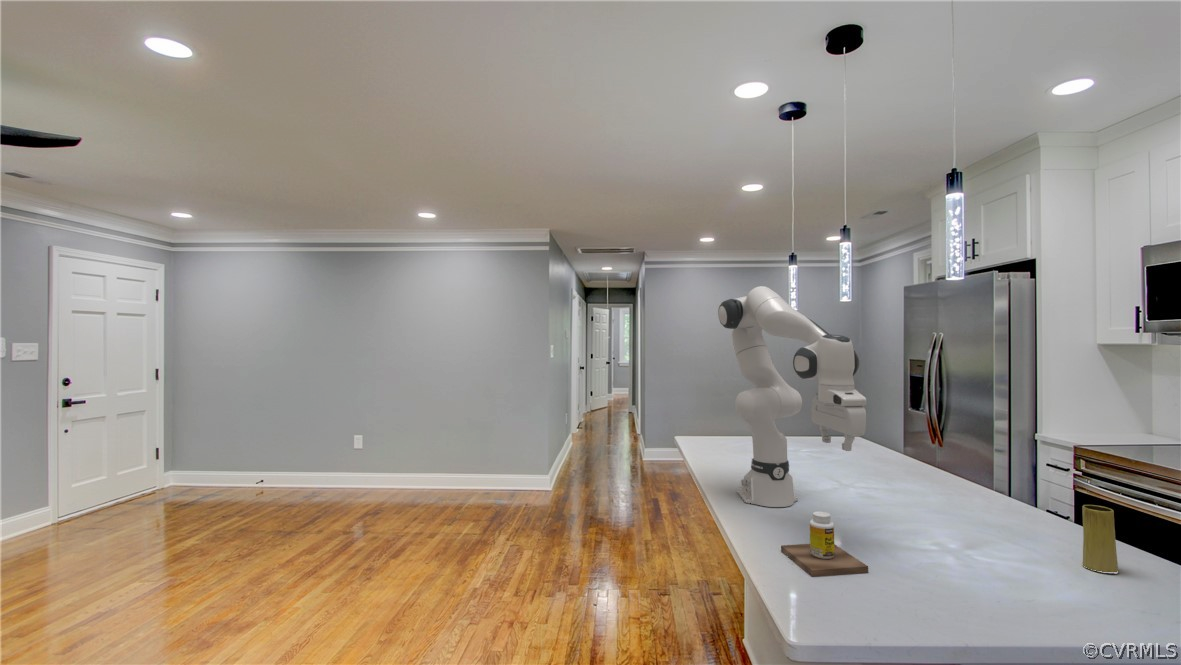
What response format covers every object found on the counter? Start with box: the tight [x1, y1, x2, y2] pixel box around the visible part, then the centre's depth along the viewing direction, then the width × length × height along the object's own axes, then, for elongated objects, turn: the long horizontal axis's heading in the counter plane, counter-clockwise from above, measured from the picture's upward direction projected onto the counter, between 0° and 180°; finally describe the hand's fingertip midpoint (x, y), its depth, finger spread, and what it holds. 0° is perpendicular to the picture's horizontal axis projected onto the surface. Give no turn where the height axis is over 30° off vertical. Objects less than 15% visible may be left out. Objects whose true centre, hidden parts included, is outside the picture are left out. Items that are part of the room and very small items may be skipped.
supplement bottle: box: [809, 511, 835, 559], centre depth 128 cm, size 6×6×10 cm
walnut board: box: [780, 543, 869, 578], centre depth 128 cm, size 15×14×2 cm
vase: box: [1081, 504, 1120, 572], centre depth 121 cm, size 6×6×14 cm
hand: (836, 446), depth 139 cm, fingers open, 8 cm apart
